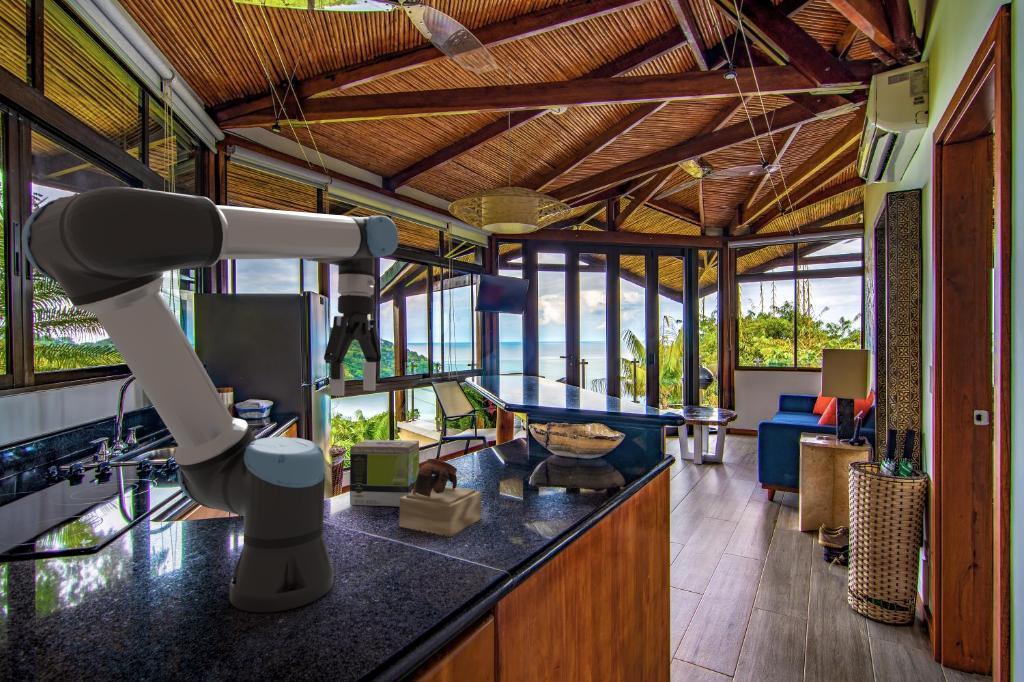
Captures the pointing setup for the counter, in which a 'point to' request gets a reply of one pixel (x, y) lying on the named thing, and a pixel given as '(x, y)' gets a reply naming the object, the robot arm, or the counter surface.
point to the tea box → (382, 471)
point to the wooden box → (441, 510)
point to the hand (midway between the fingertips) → (354, 392)
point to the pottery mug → (434, 477)
